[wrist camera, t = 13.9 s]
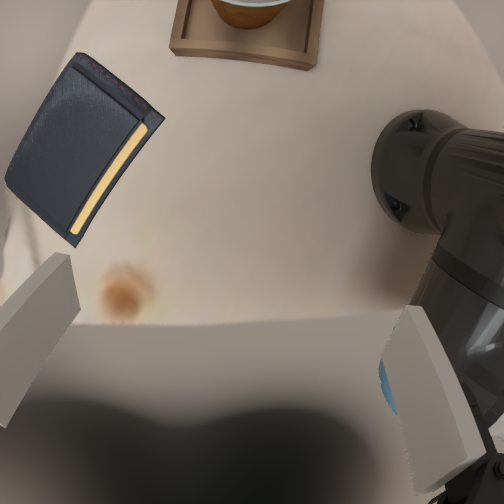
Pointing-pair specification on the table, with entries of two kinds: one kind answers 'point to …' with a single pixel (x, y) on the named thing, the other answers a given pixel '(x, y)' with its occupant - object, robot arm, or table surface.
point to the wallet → (79, 146)
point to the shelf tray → (249, 35)
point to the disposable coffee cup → (248, 12)
